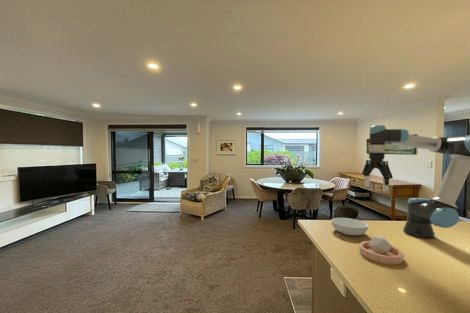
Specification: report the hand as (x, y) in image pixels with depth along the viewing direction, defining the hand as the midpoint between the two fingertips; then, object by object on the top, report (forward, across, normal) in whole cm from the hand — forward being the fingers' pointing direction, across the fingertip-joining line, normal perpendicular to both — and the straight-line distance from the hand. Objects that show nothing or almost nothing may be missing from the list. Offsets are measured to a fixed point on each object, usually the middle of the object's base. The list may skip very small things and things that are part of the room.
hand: (375, 188), depth 126 cm
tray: (+31, +17, -11) cm, 37 cm away
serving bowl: (+31, -13, -7) cm, 34 cm away
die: (+30, +17, -11) cm, 36 cm away
